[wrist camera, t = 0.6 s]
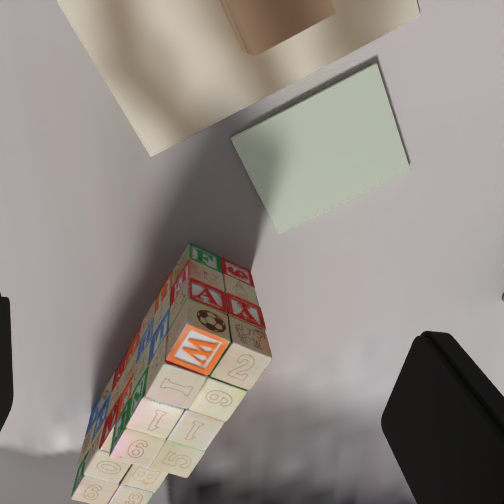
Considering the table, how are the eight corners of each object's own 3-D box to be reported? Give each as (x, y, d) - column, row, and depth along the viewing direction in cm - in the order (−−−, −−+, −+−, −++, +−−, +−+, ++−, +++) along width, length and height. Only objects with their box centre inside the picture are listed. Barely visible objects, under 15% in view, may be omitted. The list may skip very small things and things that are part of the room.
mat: (374, 63, 33) (376, 63, 33) (407, 168, 37) (410, 170, 37) (230, 137, 34) (230, 139, 34) (277, 232, 38) (278, 234, 38)
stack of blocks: (148, 430, 47) (135, 553, 36) (89, 412, 45) (57, 537, 34) (252, 269, 40) (275, 359, 29) (188, 239, 38) (187, 324, 27)
